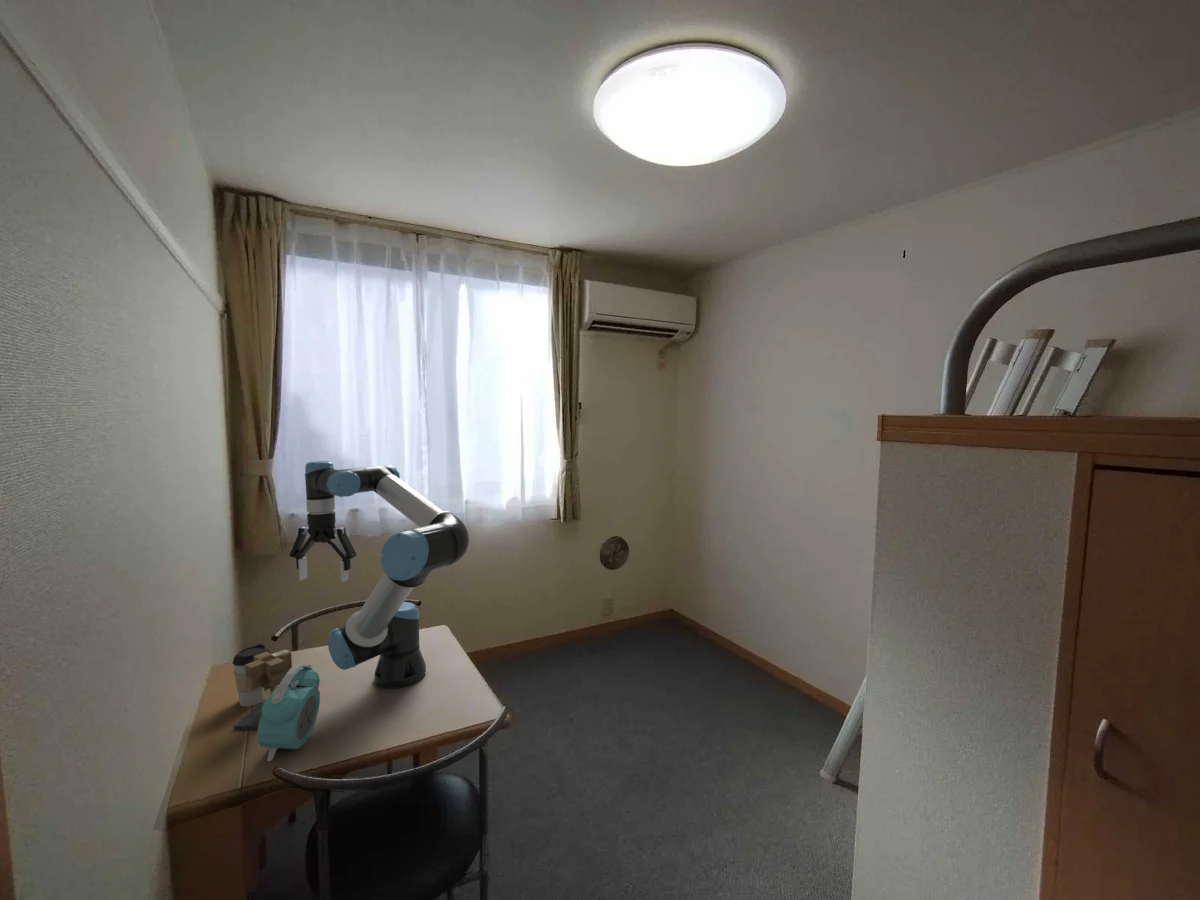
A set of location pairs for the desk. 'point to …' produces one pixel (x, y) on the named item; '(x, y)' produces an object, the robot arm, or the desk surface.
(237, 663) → the coffee cup
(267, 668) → the cross cap
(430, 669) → the desk surface
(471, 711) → the desk surface
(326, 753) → the desk surface
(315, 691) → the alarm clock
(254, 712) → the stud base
